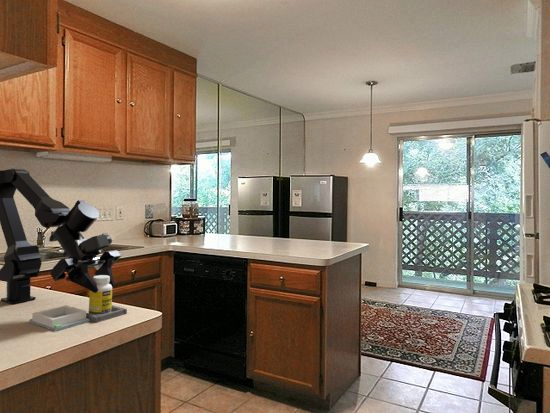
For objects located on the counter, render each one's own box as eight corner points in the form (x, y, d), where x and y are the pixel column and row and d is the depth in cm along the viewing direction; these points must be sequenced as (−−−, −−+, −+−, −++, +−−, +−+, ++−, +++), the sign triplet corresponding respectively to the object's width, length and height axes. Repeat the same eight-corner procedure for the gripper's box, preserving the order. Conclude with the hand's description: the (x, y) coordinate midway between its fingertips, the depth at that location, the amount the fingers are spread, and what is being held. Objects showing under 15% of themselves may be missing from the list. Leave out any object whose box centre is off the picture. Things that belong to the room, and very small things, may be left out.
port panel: (29, 322, 95) (29, 312, 95) (62, 313, 102) (63, 304, 102) (55, 331, 89) (56, 320, 89) (89, 321, 96) (89, 311, 96)
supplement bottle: (103, 318, 99) (104, 279, 99) (84, 315, 100) (85, 277, 100) (115, 311, 104) (116, 275, 104) (97, 309, 105) (98, 273, 105)
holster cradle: (74, 315, 100) (74, 311, 100) (104, 307, 108) (104, 303, 108) (96, 322, 96) (96, 317, 96) (126, 313, 104) (126, 308, 104)
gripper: (60, 225, 94) (95, 276, 90) (116, 221, 111) (147, 264, 108) (35, 255, 97) (68, 305, 93) (94, 246, 114) (123, 288, 111)
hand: (105, 289), depth 101 cm, fingers closed on supplement bottle, 5 cm apart
